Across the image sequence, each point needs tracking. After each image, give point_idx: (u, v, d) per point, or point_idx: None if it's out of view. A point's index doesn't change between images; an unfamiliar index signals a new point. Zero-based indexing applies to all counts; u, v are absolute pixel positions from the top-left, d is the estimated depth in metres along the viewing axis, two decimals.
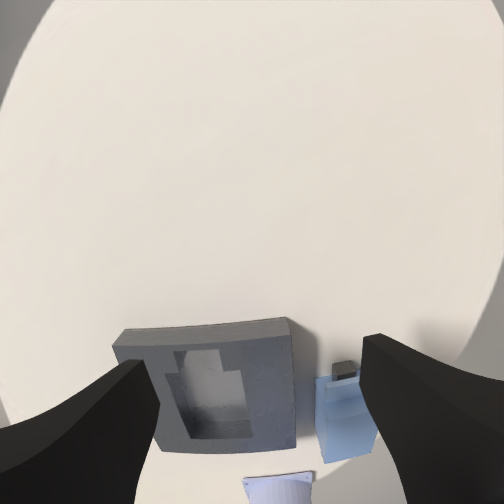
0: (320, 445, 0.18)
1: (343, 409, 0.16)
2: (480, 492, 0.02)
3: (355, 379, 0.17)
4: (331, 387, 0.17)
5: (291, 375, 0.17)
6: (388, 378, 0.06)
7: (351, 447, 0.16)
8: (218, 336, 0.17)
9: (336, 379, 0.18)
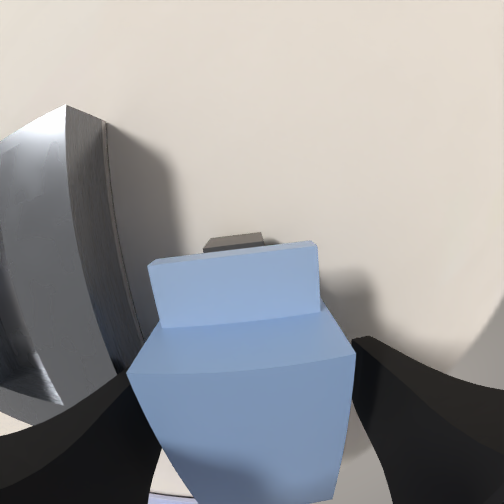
0: None
1: (196, 349, 0.05)
2: (463, 503, 0.02)
3: (247, 250, 0.06)
4: (162, 265, 0.06)
5: (69, 222, 0.06)
6: (375, 381, 0.06)
7: (265, 486, 0.05)
8: None
9: None
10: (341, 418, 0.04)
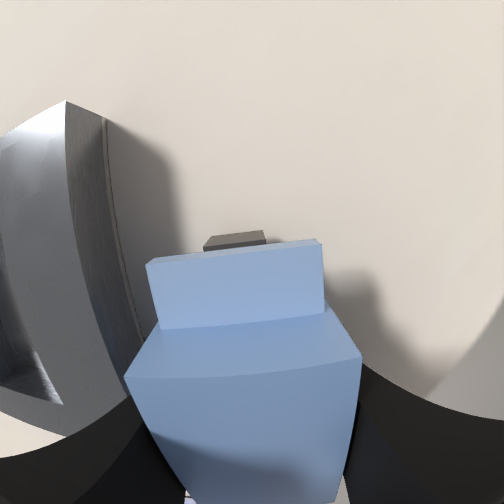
0: None
1: (196, 351, 0.05)
2: None
3: (249, 249, 0.06)
4: (161, 264, 0.06)
5: (69, 219, 0.06)
6: None
7: (266, 490, 0.05)
8: None
9: None
10: (346, 422, 0.04)
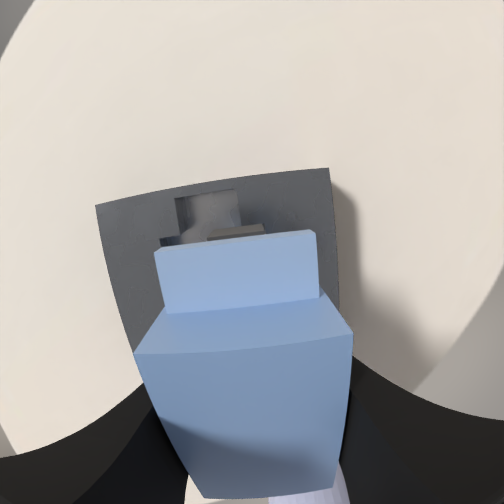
0: None
1: (201, 331, 0.05)
2: None
3: (249, 238, 0.06)
4: (168, 252, 0.06)
5: (333, 234, 0.13)
6: None
7: (266, 472, 0.05)
8: None
9: None
10: (340, 399, 0.05)
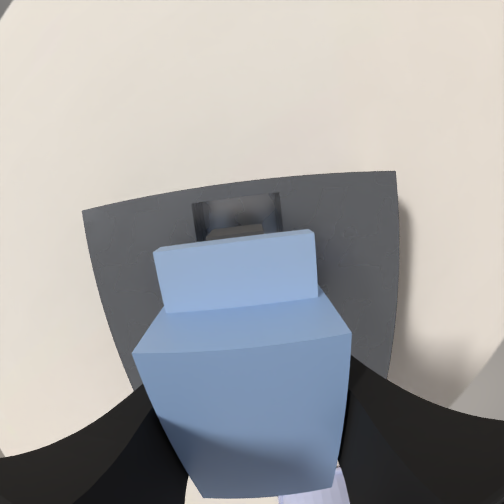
0: None
1: (199, 330, 0.05)
2: None
3: (248, 237, 0.06)
4: (167, 252, 0.06)
5: (396, 256, 0.10)
6: None
7: (265, 471, 0.05)
8: None
9: None
10: (339, 399, 0.05)
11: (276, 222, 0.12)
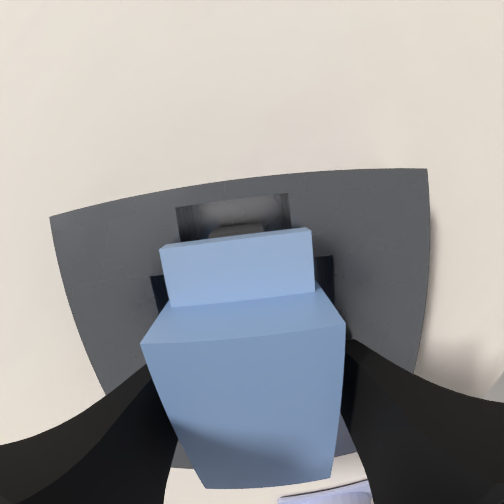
0: None
1: (203, 322, 0.06)
2: None
3: (249, 235, 0.07)
4: (173, 249, 0.06)
5: (425, 271, 0.08)
6: (357, 386, 0.06)
7: (265, 460, 0.06)
8: None
9: None
10: (335, 388, 0.05)
11: (282, 229, 0.09)
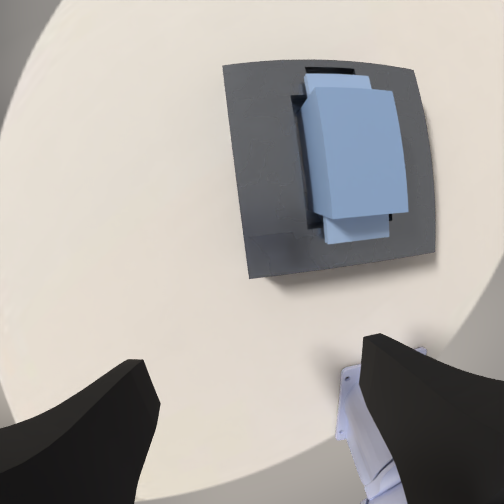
0: (320, 206, 0.13)
1: None
2: (480, 492, 0.02)
3: None
4: (312, 74, 0.12)
5: (422, 115, 0.13)
6: (388, 377, 0.06)
7: (371, 175, 0.11)
8: None
9: None
10: (395, 121, 0.11)
11: None
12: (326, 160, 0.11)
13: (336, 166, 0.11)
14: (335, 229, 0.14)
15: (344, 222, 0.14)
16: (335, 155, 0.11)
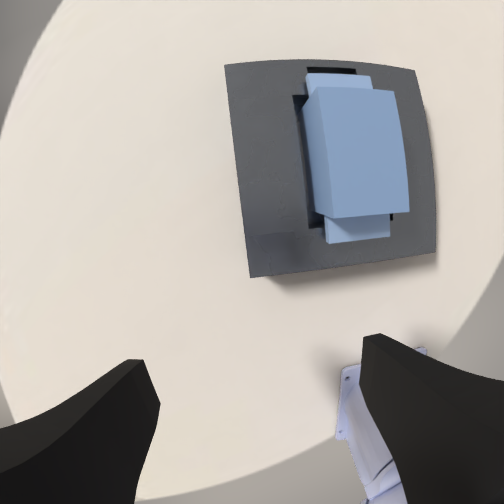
0: (322, 206, 0.13)
1: None
2: (480, 492, 0.02)
3: None
4: (313, 74, 0.12)
5: (423, 115, 0.13)
6: (388, 378, 0.06)
7: (373, 174, 0.11)
8: None
9: None
10: (397, 121, 0.11)
11: None
12: (328, 159, 0.11)
13: (338, 165, 0.11)
14: (336, 229, 0.14)
15: (345, 222, 0.14)
16: (337, 154, 0.11)
